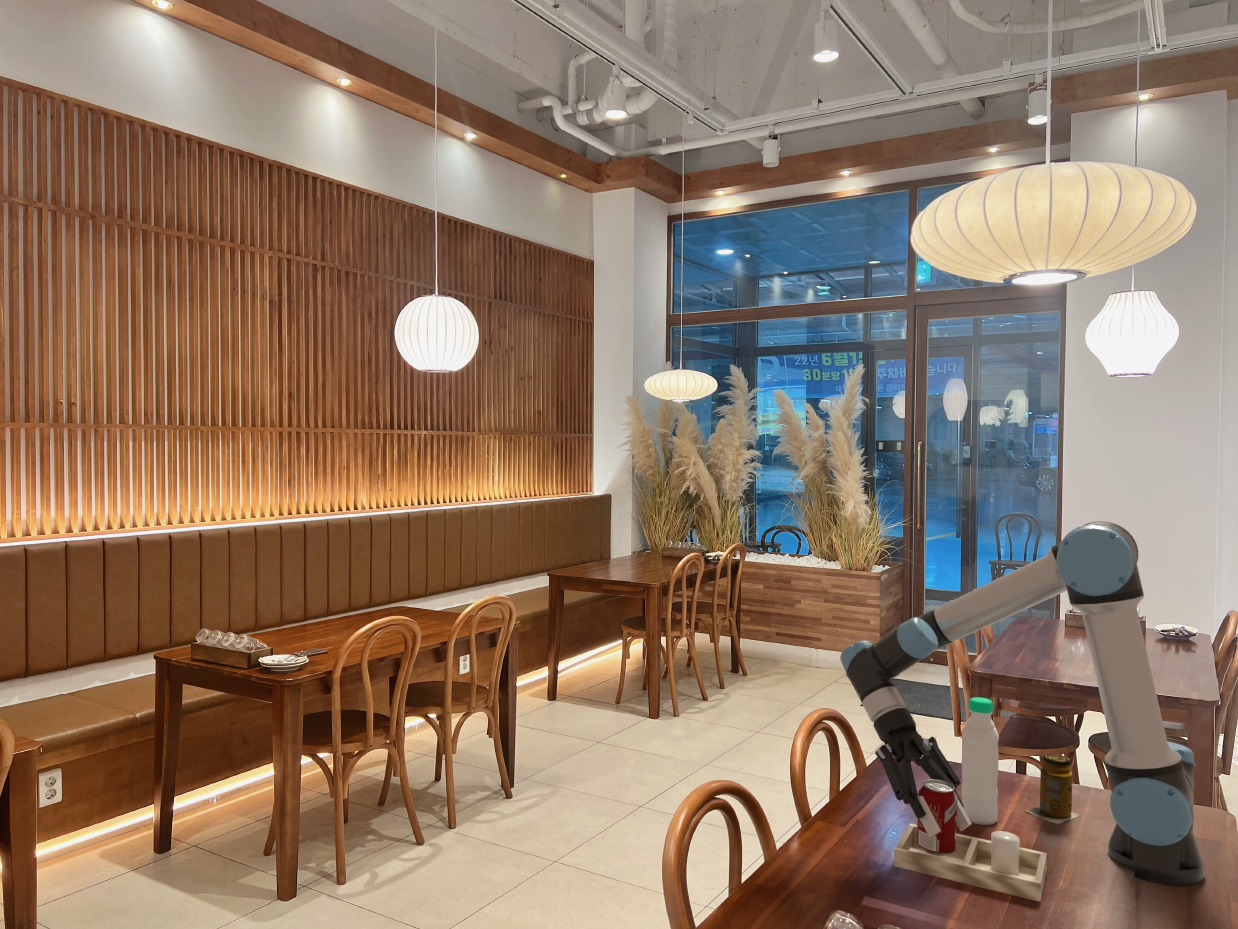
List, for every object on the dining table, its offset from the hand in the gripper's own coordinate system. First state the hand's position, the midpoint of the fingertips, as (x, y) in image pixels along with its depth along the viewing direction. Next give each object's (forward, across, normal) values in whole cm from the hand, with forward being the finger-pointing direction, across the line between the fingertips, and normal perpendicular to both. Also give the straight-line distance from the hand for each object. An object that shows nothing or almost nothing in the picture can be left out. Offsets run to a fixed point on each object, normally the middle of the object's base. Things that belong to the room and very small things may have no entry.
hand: (950, 830), depth 157 cm
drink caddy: (+7, -3, -4) cm, 9 cm away
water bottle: (-5, -24, -16) cm, 29 cm away
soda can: (+1, 0, -6) cm, 6 cm away
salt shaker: (+9, -7, 0) cm, 11 cm away
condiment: (-2, -40, -13) cm, 42 cm away
